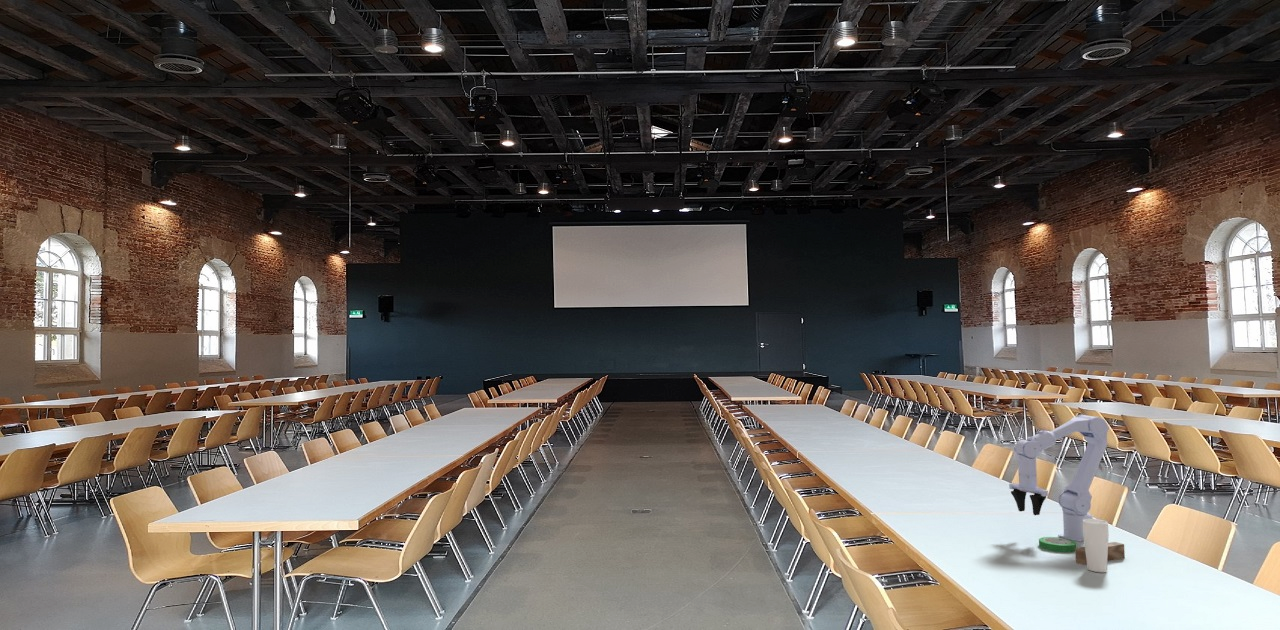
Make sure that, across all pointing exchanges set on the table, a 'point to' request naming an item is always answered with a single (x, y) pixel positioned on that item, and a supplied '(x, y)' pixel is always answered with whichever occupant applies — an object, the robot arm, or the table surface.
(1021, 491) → the robot arm
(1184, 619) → the table surface
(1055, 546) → the tape roll
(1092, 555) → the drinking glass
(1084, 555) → the brown wooden bar
